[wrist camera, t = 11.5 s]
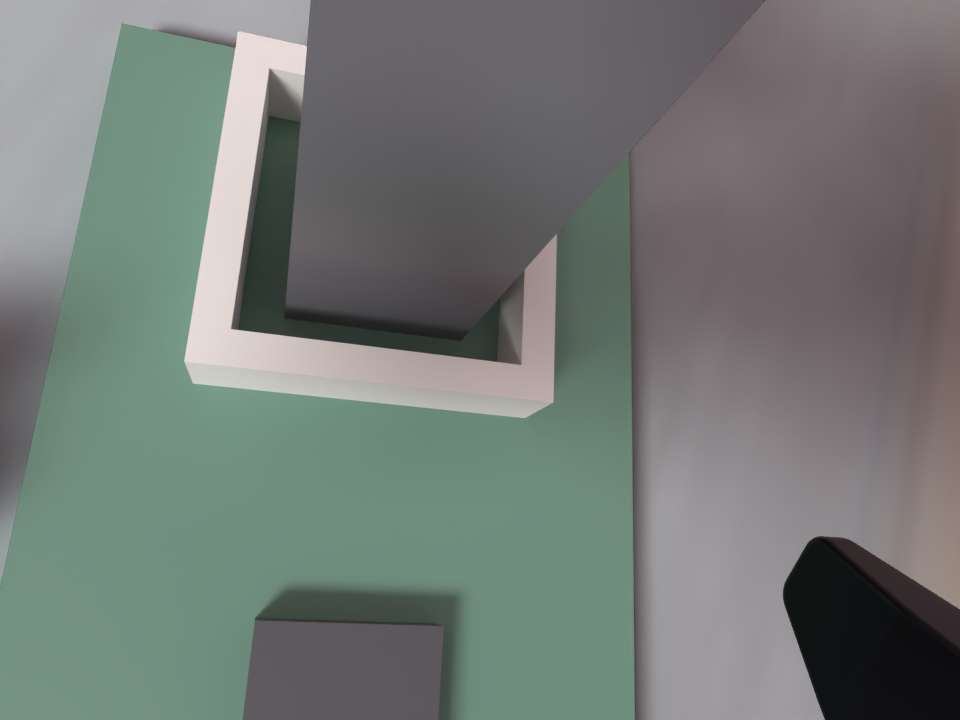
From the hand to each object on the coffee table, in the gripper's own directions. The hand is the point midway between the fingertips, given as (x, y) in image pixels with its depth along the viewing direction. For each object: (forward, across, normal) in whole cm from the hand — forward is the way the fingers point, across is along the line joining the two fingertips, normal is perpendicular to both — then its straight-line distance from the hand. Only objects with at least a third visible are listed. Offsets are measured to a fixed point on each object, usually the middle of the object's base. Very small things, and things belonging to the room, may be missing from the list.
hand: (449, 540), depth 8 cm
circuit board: (+9, 0, +6) cm, 11 cm away
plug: (+12, 0, +1) cm, 12 cm away
